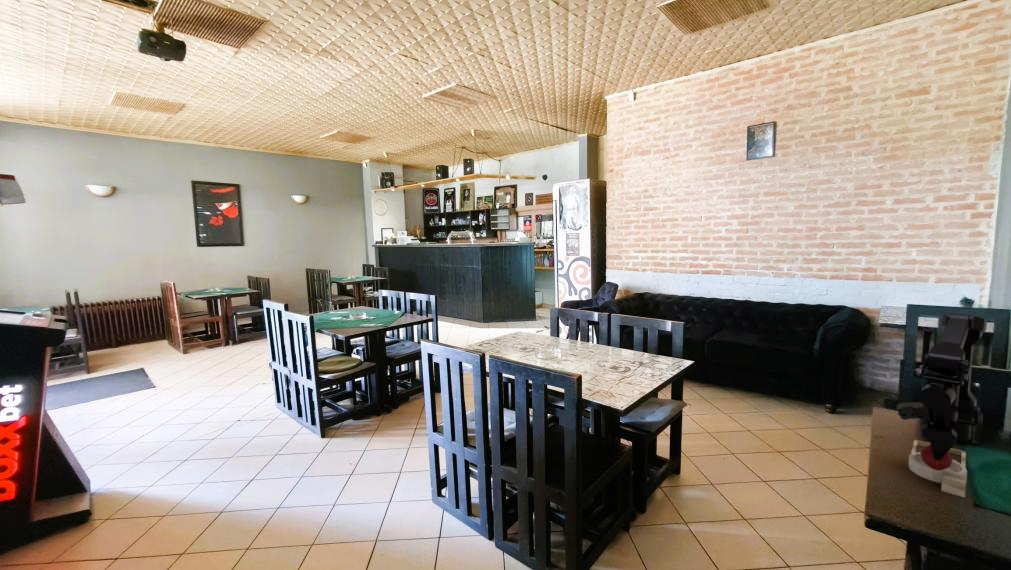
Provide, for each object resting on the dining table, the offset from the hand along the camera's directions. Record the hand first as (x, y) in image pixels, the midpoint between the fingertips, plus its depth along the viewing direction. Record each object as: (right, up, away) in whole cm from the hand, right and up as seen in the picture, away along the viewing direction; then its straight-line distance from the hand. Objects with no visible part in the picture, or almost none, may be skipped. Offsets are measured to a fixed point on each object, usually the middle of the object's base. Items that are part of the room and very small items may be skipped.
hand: (937, 454), depth 112 cm
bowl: (0, -5, +1) cm, 6 cm away
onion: (0, -5, +1) cm, 5 cm away
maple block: (-3, -7, -6) cm, 10 cm away
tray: (+9, -4, +8) cm, 13 cm away
